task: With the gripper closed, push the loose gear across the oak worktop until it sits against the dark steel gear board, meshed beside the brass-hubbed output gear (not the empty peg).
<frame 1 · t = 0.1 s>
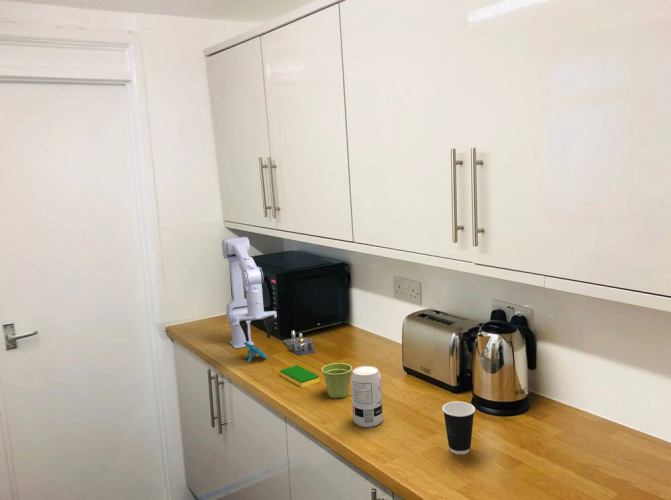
hand: (258, 339, 211), 10 cm above the counter, fingers open, 7 cm apart
supplement can: (368, 422, 165), on the counter
gear board: (299, 347, 230), on the counter
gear: (255, 360, 220), on the counter
plant pot: (338, 395, 184), on the counter
dixie cup: (459, 450, 147), on the counter
dish sponge: (299, 380, 199), on the counter
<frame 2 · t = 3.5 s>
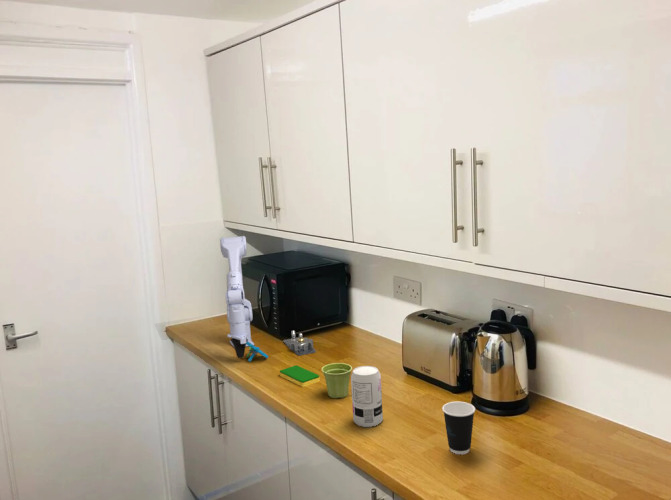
hand: (240, 357, 217), 2 cm above the counter, fingers closed
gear: (257, 359, 220), on the counter, touching gripper
everything else where it was.
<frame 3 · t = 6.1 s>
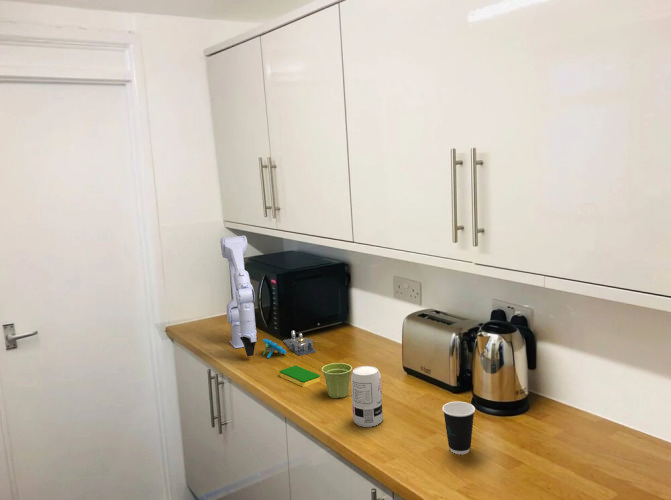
hand: (250, 355, 218), 2 cm above the counter, fingers closed
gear: (274, 356, 222), on the counter
everything else where it was.
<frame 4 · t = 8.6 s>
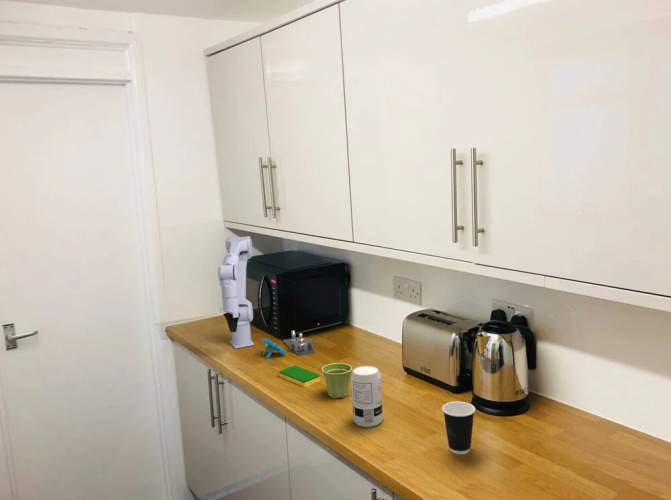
hand: (233, 331, 222), 10 cm above the counter, fingers closed
nothing on the counter moved.
at the end: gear inside the target area (1.7 cm from its centre), on the counter; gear moved 7.1 cm from its start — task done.
